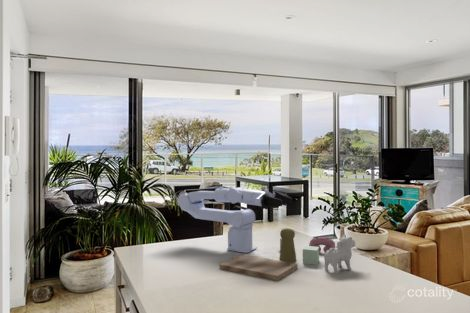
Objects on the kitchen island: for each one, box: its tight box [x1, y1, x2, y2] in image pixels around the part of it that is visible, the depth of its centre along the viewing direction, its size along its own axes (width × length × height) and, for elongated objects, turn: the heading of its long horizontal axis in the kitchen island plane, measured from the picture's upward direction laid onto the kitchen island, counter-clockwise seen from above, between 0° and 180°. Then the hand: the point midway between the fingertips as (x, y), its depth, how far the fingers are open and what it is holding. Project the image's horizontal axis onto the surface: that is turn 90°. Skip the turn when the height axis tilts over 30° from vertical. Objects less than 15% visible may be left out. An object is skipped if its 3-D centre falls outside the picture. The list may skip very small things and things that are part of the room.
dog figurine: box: [323, 234, 356, 274], centre depth 123 cm, size 5×13×11 cm, turn 126°
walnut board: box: [218, 253, 298, 282], centre depth 125 cm, size 22×14×2 cm, turn 56°
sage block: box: [302, 245, 320, 266], centre depth 131 cm, size 5×5×5 cm
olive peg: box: [279, 228, 297, 263], centre depth 134 cm, size 6×6×11 cm
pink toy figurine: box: [308, 236, 336, 254], centre depth 143 cm, size 10×5×7 cm, turn 71°
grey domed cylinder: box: [279, 237, 282, 252], centre depth 147 cm, size 5×5×4 cm
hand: (286, 202), depth 137 cm, fingers open, 7 cm apart
